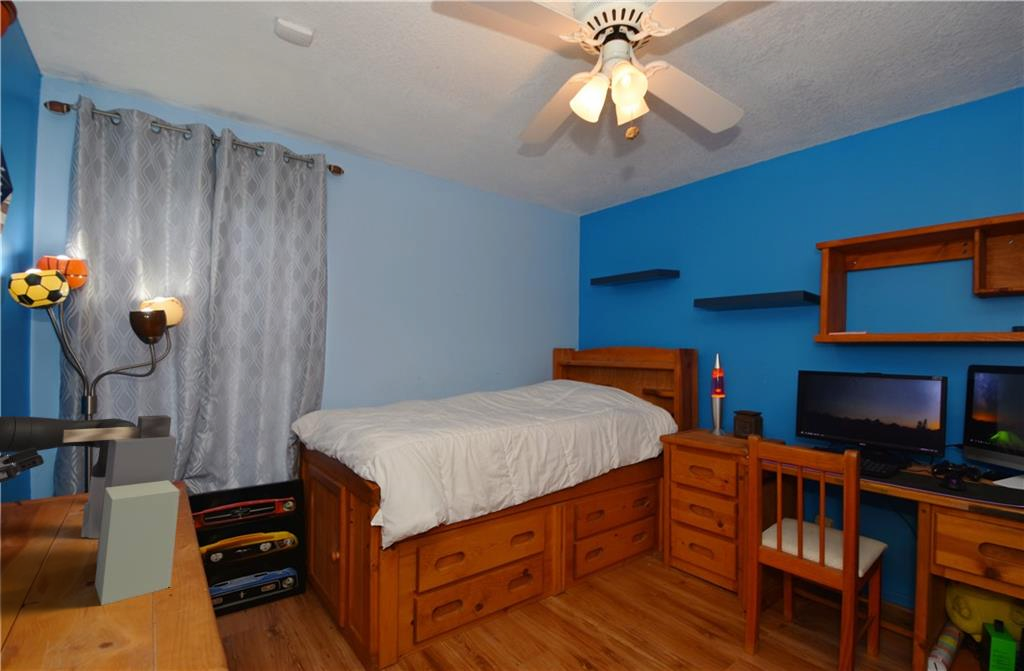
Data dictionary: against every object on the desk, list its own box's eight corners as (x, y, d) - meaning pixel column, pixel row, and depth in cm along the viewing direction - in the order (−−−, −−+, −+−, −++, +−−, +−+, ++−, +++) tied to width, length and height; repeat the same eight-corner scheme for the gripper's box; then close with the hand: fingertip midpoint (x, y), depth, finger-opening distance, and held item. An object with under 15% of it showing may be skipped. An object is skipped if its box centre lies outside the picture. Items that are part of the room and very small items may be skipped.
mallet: (63, 443, 107) (66, 421, 107) (62, 439, 111) (64, 418, 111) (169, 436, 121) (171, 417, 121) (164, 433, 125) (166, 415, 126)
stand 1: (102, 578, 109) (116, 442, 111) (96, 562, 117) (109, 435, 119) (164, 564, 118) (176, 438, 120) (154, 550, 126) (166, 431, 128)
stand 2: (101, 605, 98) (112, 499, 99) (94, 585, 106) (105, 487, 107) (170, 587, 106) (179, 490, 108) (159, 570, 114) (168, 480, 116)
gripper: (-83, 485, 85) (37, 445, 97) (-82, 469, 94) (28, 434, 106) (-65, 520, 87) (51, 476, 99) (-66, 501, 96) (41, 463, 108)
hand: (39, 455), depth 103 cm, fingers open, 8 cm apart
